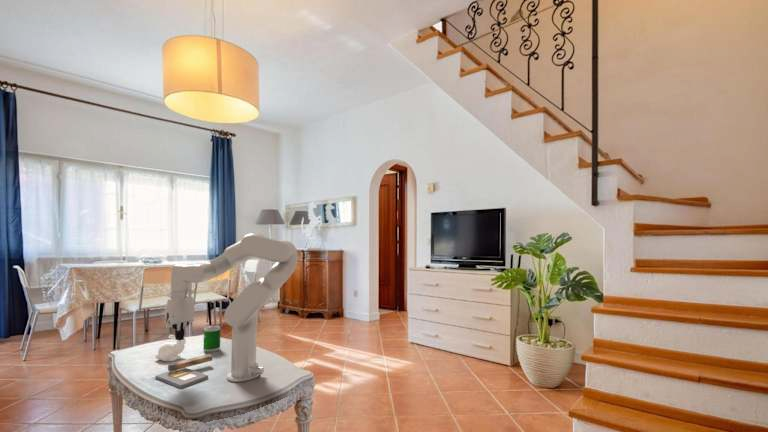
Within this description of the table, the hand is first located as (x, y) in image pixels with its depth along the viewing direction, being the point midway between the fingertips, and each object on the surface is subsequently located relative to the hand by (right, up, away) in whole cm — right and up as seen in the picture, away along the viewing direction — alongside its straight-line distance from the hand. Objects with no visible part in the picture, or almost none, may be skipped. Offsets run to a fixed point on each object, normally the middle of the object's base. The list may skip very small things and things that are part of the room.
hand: (179, 339), depth 145 cm
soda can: (-3, -17, +32) cm, 37 cm away
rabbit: (-15, -17, +20) cm, 30 cm away
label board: (+2, -15, -2) cm, 15 cm away
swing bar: (+1, -13, +6) cm, 14 cm away
